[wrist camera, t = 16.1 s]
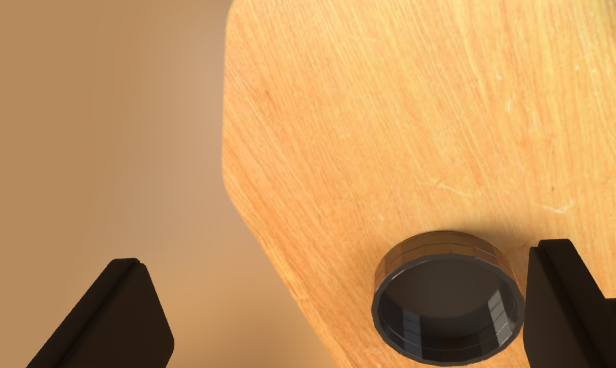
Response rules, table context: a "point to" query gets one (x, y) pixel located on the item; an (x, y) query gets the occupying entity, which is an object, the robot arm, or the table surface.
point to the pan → (446, 299)
